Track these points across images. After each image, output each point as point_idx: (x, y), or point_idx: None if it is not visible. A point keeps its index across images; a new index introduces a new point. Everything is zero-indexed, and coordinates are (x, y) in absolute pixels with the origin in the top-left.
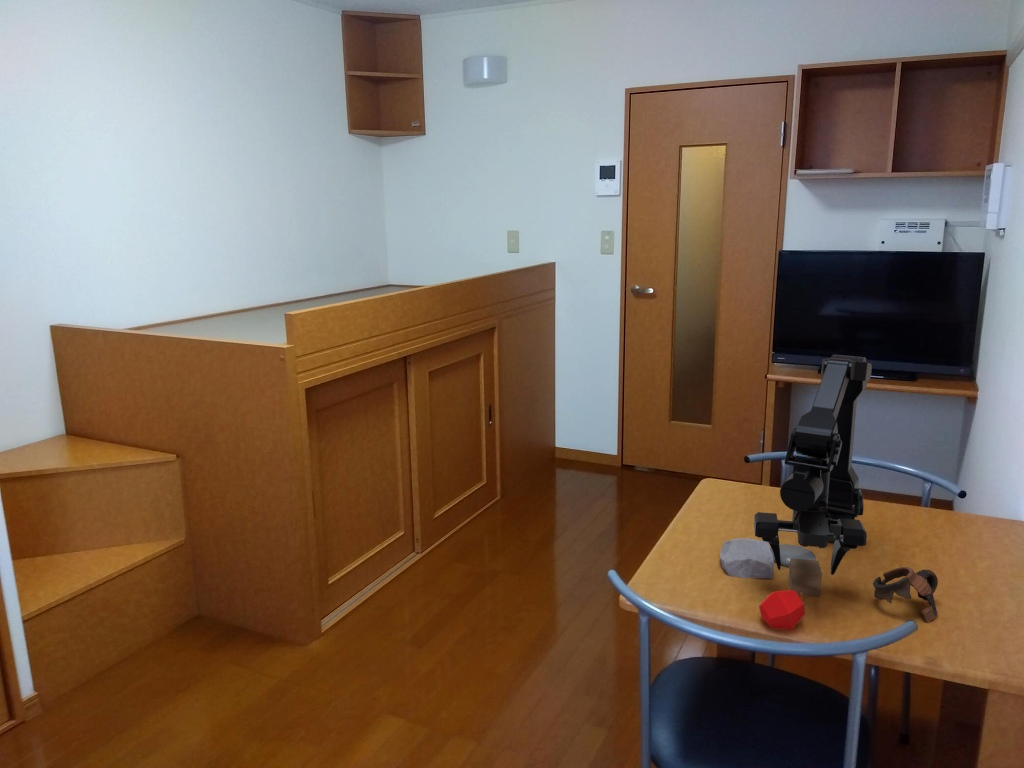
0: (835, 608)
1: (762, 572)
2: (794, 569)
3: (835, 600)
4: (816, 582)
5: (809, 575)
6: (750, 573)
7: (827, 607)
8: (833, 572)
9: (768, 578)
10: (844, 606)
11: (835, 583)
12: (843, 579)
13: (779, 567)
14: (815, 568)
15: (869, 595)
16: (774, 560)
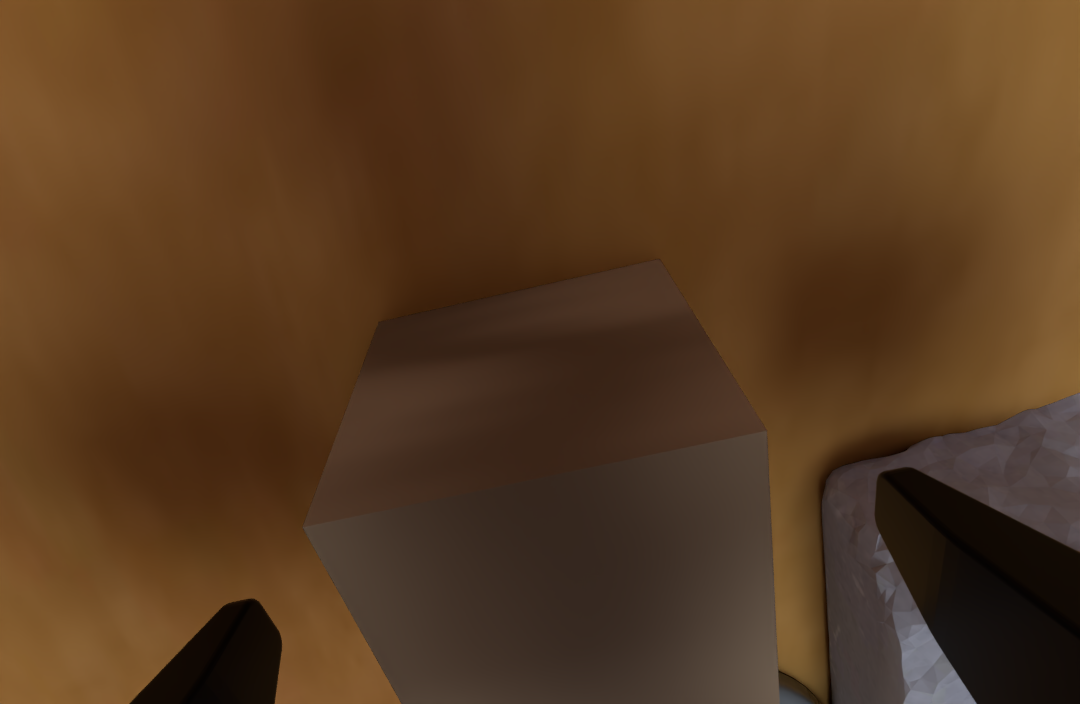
0: (164, 158)
1: (954, 483)
2: (733, 466)
3: (228, 332)
4: (398, 409)
5: (489, 447)
6: (1054, 444)
7: (248, 142)
8: (210, 628)
9: (859, 462)
10: (101, 247)
11: (324, 592)
12: (288, 658)
13: (919, 487)
14: (427, 606)
15: (11, 530)
16: (796, 692)
